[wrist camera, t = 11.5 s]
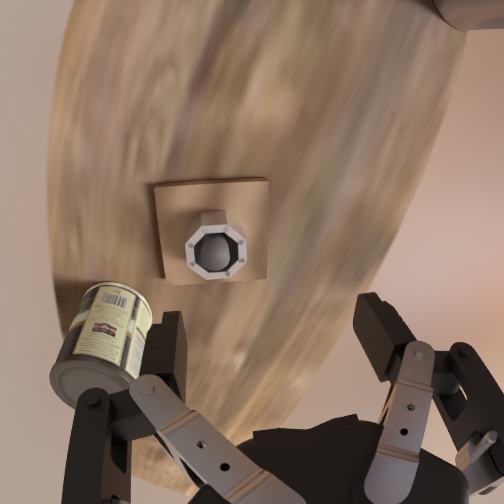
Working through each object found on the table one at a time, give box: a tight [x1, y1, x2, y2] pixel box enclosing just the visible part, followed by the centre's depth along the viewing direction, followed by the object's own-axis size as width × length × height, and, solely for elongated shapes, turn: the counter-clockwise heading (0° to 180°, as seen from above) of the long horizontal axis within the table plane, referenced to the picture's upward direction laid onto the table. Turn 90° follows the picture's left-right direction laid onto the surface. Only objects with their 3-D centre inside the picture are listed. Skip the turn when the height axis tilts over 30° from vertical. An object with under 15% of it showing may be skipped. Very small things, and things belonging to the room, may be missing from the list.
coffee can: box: [50, 282, 152, 410], centre depth 34 cm, size 10×10×14 cm
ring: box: [185, 210, 247, 280], centre depth 33 cm, size 6×6×4 cm
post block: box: [154, 178, 269, 286], centre depth 34 cm, size 12×12×6 cm
